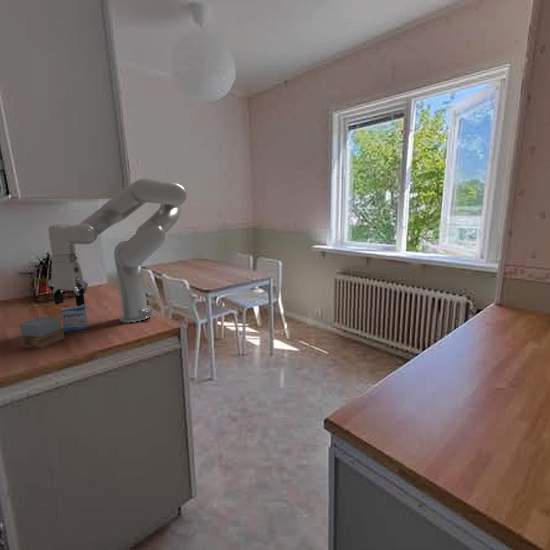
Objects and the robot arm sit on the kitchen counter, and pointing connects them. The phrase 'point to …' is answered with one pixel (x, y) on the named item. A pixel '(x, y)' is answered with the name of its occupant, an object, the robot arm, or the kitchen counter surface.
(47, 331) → the grey slab
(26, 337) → the walnut slab
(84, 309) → the medicine box
